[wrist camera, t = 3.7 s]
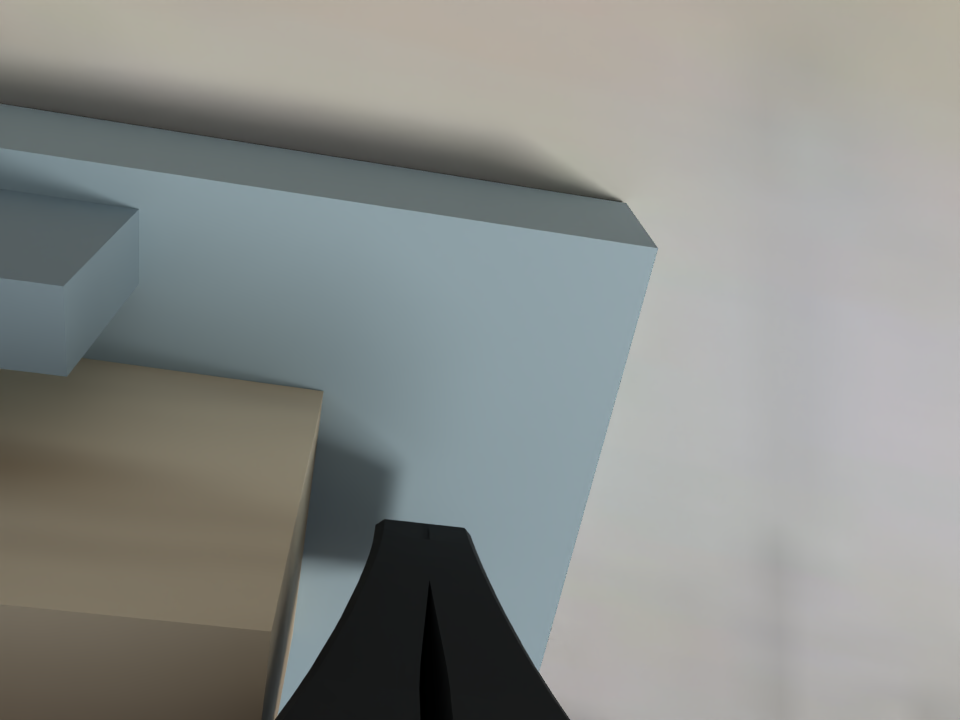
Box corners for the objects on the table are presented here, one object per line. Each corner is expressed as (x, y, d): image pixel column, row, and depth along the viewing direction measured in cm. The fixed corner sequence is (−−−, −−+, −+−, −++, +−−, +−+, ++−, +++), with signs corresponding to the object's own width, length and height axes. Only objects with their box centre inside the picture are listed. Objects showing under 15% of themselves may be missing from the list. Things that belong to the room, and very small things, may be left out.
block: (292, 634, 14) (238, 926, 10) (-5, 604, 13) (-193, 902, 9) (323, 391, 12) (270, 630, 8) (-25, 343, 11) (-271, 576, 7)
